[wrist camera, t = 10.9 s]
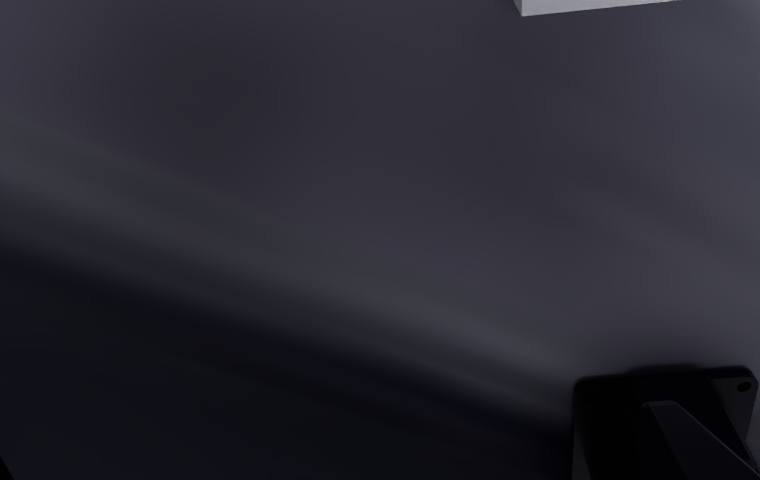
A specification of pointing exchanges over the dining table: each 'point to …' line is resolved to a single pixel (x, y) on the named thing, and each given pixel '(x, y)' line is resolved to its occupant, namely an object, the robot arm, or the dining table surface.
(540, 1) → the bay
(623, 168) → the dining table surface
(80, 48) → the dining table surface
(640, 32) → the dining table surface
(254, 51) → the dining table surface
